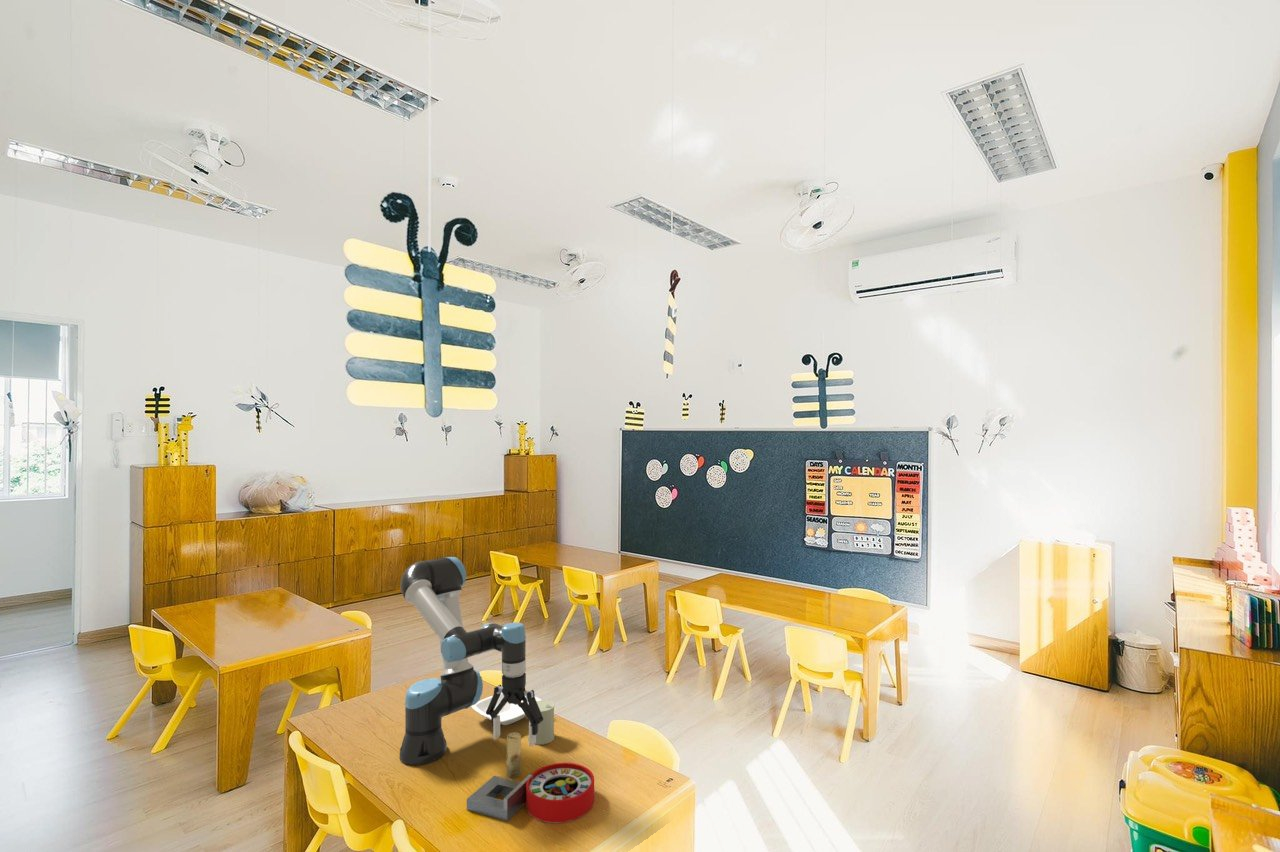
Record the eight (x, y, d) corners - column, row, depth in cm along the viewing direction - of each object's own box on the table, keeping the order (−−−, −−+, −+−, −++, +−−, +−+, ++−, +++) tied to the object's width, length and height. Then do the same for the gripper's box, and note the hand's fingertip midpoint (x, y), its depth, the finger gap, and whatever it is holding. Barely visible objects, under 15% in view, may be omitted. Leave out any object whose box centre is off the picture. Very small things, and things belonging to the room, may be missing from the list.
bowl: (465, 721, 223) (465, 705, 223) (514, 700, 241) (514, 686, 241) (499, 740, 208) (500, 724, 209) (550, 717, 226) (550, 702, 226)
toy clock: (582, 756, 186) (603, 790, 167) (582, 775, 186) (603, 811, 167) (519, 771, 178) (534, 808, 159) (519, 790, 178) (534, 830, 159)
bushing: (503, 776, 186) (503, 738, 186) (511, 769, 190) (511, 731, 190) (515, 779, 184) (515, 740, 184) (523, 771, 188) (523, 734, 188)
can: (549, 746, 204) (549, 711, 205) (524, 743, 206) (524, 709, 206) (558, 733, 213) (558, 700, 214) (534, 730, 215) (534, 697, 215)
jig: (466, 809, 169) (466, 788, 169) (494, 785, 181) (494, 765, 181) (507, 821, 163) (507, 799, 163) (532, 795, 175) (532, 775, 176)
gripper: (474, 672, 189) (475, 739, 188) (540, 682, 180) (541, 753, 179) (489, 664, 196) (489, 729, 195) (553, 674, 187) (554, 742, 186)
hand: (514, 741), depth 187 cm, fingers open, 13 cm apart
